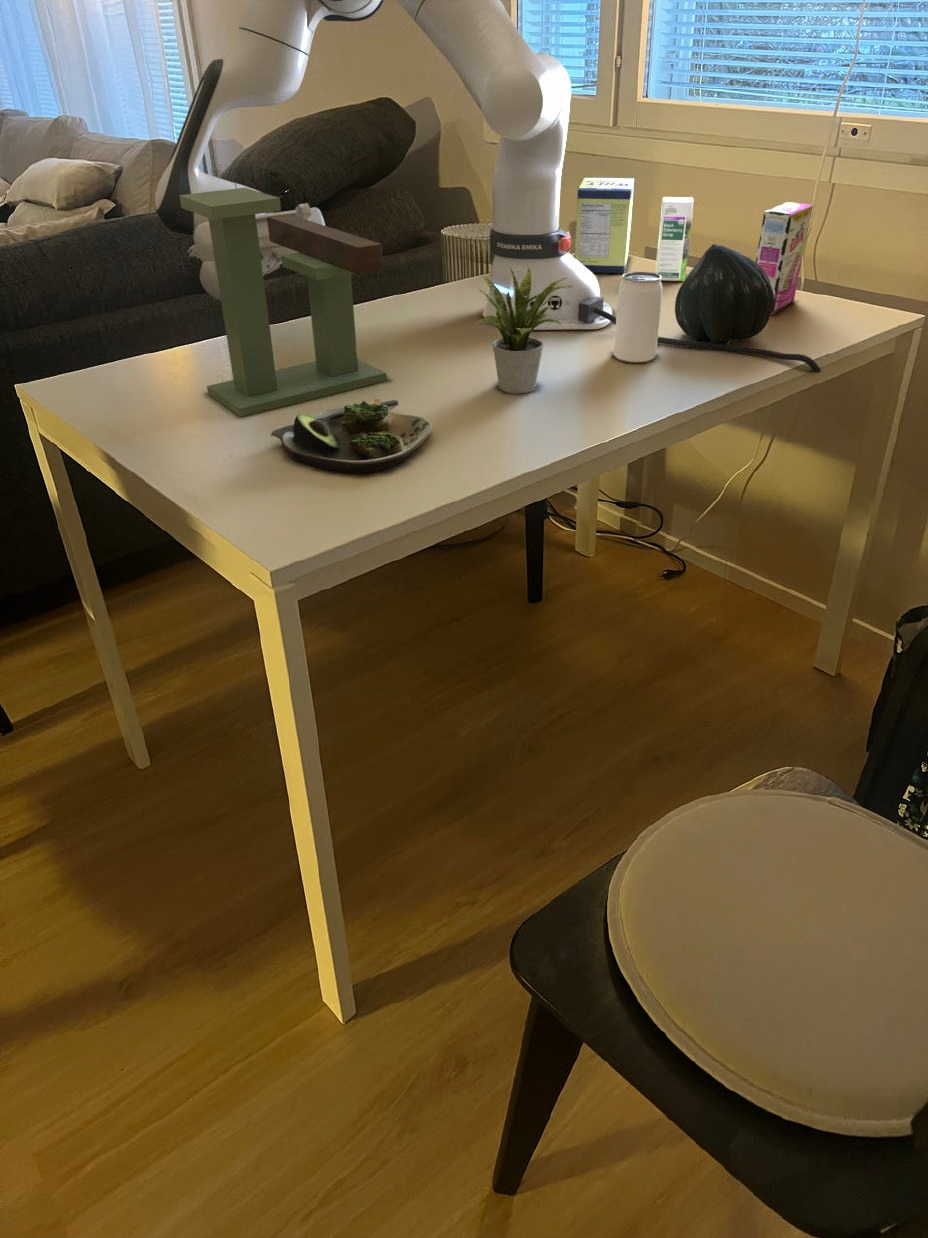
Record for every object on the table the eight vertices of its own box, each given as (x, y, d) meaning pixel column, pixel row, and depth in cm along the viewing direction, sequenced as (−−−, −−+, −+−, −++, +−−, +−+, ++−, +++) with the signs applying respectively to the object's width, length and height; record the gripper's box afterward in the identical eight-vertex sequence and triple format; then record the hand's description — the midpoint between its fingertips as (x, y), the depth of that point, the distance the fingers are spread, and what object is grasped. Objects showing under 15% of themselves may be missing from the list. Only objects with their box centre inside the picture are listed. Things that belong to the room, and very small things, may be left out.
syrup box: (654, 281, 180) (663, 200, 172) (654, 273, 185) (662, 195, 177) (684, 281, 179) (694, 201, 171) (683, 274, 184) (693, 195, 176)
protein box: (628, 256, 197) (635, 176, 188) (625, 274, 184) (632, 189, 176) (579, 254, 199) (583, 175, 190) (572, 272, 186) (577, 188, 178)
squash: (802, 315, 140) (772, 225, 142) (716, 330, 136) (687, 237, 138) (753, 356, 154) (726, 273, 155) (674, 370, 150) (648, 285, 151)
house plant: (583, 404, 126) (591, 280, 117) (484, 411, 124) (484, 286, 115) (557, 370, 137) (563, 255, 128) (466, 376, 136) (465, 260, 126)
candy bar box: (773, 315, 159) (791, 214, 150) (746, 311, 162) (762, 210, 153) (796, 301, 167) (814, 203, 158) (769, 297, 169) (785, 200, 160)
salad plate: (346, 403, 127) (343, 370, 124) (460, 425, 120) (459, 391, 117) (256, 454, 113) (251, 419, 110) (379, 483, 106) (376, 445, 103)
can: (655, 364, 139) (663, 282, 132) (611, 362, 140) (618, 280, 133) (656, 351, 144) (664, 271, 137) (614, 349, 145) (620, 269, 138)
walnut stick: (269, 241, 135) (266, 216, 133) (290, 238, 136) (287, 213, 135) (360, 275, 117) (358, 247, 115) (383, 271, 119) (381, 243, 117)
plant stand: (208, 393, 131) (173, 194, 116) (348, 361, 142) (333, 176, 127) (241, 416, 123) (208, 207, 109) (386, 380, 134) (375, 186, 120)
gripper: (177, 237, 140) (201, 198, 128) (298, 220, 150) (330, 183, 138) (192, 278, 141) (216, 244, 129) (310, 258, 151) (343, 225, 139)
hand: (276, 212), depth 134 cm, fingers open, 8 cm apart
